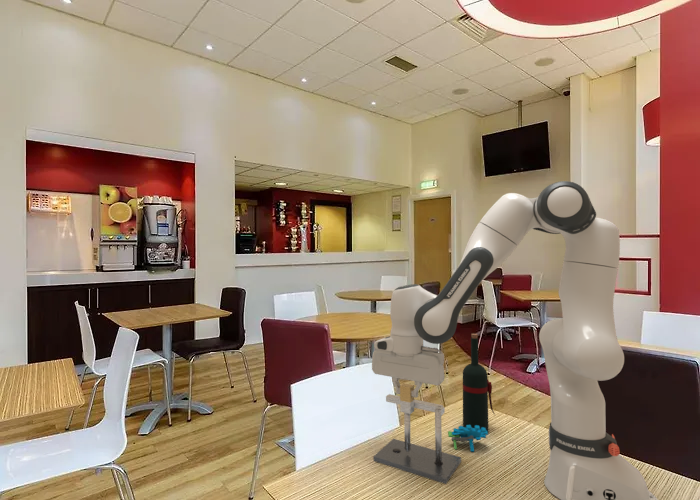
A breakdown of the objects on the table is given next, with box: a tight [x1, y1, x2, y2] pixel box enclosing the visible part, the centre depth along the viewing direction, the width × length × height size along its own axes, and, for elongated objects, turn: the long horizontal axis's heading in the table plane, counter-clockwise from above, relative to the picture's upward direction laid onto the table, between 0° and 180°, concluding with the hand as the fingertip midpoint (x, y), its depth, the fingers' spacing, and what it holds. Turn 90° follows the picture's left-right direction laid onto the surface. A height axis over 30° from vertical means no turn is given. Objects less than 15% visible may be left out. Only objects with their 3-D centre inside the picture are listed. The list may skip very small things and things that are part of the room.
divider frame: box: [385, 393, 446, 465], centre depth 107 cm, size 17×4×14 cm, turn 57°
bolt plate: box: [373, 438, 462, 485], centre depth 105 cm, size 20×12×1 cm, turn 57°
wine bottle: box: [462, 333, 496, 432], centre depth 124 cm, size 8×10×30 cm
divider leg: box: [399, 383, 415, 452], centre depth 107 cm, size 3×2×18 cm
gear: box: [447, 425, 489, 453], centre depth 112 cm, size 11×6×10 cm
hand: (407, 395), depth 107 cm, fingers closed on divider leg, 3 cm apart
